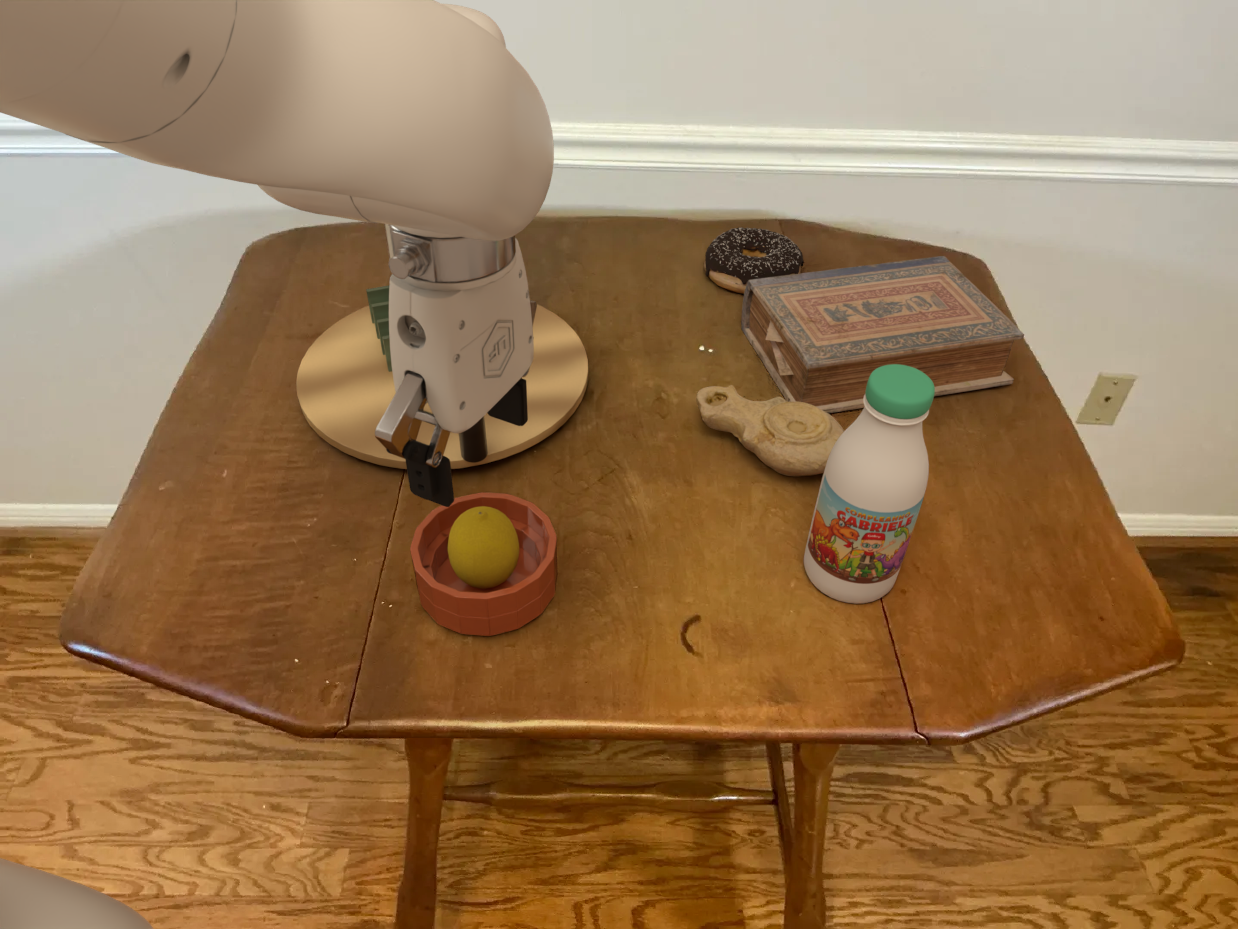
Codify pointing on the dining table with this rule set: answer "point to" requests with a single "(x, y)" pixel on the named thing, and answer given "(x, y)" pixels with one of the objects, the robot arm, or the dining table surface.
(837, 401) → the book
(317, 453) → the dining table surface
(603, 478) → the dining table surface
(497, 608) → the bowl
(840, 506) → the milk bottle
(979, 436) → the dining table surface
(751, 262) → the donut
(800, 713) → the dining table surface
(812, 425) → the oil lamp
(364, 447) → the dish rack
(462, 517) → the lemon
